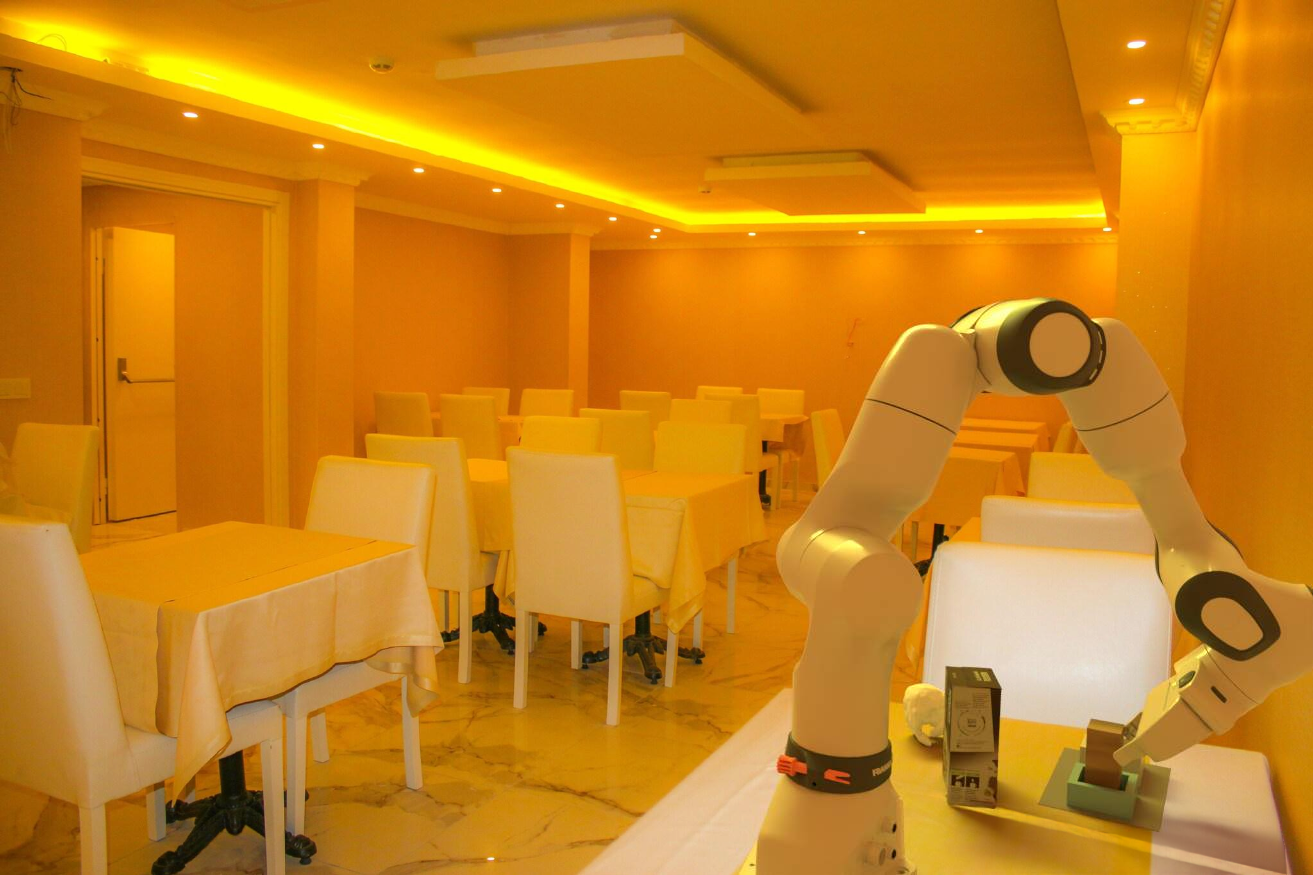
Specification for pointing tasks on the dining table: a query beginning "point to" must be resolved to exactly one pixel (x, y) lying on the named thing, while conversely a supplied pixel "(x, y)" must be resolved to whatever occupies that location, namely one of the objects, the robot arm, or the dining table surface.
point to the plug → (1103, 754)
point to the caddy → (1109, 791)
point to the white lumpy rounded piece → (924, 710)
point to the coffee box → (971, 735)
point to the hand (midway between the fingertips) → (1121, 746)
